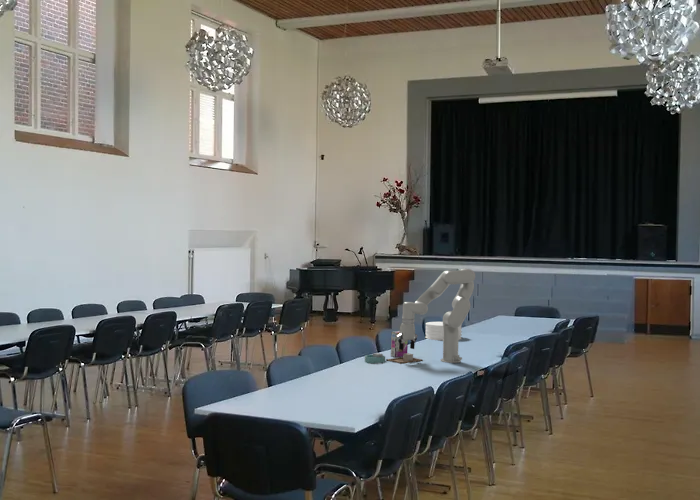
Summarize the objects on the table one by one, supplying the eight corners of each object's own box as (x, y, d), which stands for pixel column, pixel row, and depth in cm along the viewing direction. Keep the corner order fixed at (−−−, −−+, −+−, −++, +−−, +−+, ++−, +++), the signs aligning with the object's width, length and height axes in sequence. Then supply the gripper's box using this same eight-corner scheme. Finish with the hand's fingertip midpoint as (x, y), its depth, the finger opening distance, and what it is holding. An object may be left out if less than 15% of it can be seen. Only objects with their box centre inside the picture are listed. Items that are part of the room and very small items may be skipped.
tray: (422, 361, 473) (422, 359, 473) (401, 364, 461) (401, 362, 461) (406, 358, 484) (406, 356, 484) (386, 361, 472) (386, 359, 472)
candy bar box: (395, 357, 486) (396, 332, 486) (390, 356, 490) (390, 331, 490) (408, 356, 494) (408, 331, 493) (402, 355, 497) (403, 330, 497)
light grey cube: (382, 361, 468) (382, 354, 468) (377, 362, 465) (377, 354, 465) (378, 360, 471) (378, 353, 471) (372, 361, 468) (372, 353, 468)
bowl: (388, 362, 469) (389, 356, 469) (374, 363, 461) (374, 358, 461) (375, 359, 479) (375, 353, 479) (360, 361, 471) (360, 355, 471)
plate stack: (442, 335, 607) (442, 320, 607) (468, 338, 586) (469, 324, 586) (418, 337, 589) (418, 323, 589) (444, 341, 568) (444, 326, 568)
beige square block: (413, 361, 470) (413, 354, 470) (408, 362, 467) (408, 354, 467) (408, 360, 473) (408, 353, 473) (403, 361, 470) (403, 353, 470)
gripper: (413, 320, 478) (412, 347, 478) (393, 321, 467) (392, 349, 467) (422, 322, 473) (420, 349, 473) (402, 322, 461) (401, 350, 461)
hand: (406, 349), depth 470 cm, fingers open, 9 cm apart
